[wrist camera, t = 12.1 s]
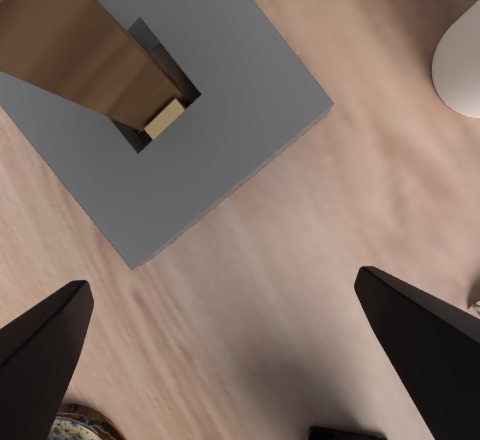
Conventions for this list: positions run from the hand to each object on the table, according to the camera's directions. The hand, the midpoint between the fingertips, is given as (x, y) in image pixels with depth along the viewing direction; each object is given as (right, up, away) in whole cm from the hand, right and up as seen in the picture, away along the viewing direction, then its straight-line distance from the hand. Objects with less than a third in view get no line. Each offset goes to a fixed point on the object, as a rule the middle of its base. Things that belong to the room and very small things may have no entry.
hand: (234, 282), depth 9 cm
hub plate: (-6, +11, +12) cm, 17 cm away
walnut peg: (-6, +11, +12) cm, 17 cm away
